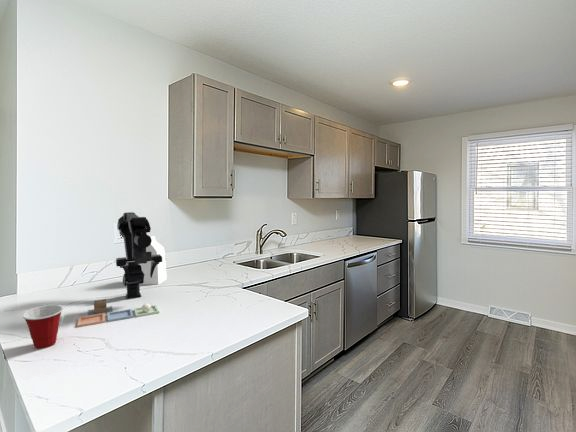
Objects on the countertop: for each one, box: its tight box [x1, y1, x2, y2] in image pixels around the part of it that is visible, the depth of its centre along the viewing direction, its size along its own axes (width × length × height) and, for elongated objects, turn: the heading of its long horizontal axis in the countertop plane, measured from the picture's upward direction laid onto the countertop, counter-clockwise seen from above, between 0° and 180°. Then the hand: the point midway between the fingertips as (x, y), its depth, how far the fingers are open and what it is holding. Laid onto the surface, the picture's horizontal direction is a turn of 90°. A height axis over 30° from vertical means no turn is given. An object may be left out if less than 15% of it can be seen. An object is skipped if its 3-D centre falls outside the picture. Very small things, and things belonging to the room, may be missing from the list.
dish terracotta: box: [76, 313, 106, 328], centre depth 127 cm, size 9×9×1 cm
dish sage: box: [133, 304, 160, 318], centre depth 137 cm, size 9×9×1 cm
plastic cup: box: [22, 304, 64, 350], centre depth 107 cm, size 11×11×12 cm
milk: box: [139, 235, 168, 285], centre depth 185 cm, size 12×12×26 cm
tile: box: [87, 306, 114, 316], centre depth 137 cm, size 9×9×1 cm
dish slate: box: [106, 308, 134, 323], centre depth 132 cm, size 9×9×1 cm
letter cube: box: [93, 298, 108, 314], centre depth 137 cm, size 4×4×5 cm
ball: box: [141, 303, 152, 312], centre depth 137 cm, size 4×4×4 cm
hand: (140, 278), depth 146 cm, fingers open, 9 cm apart
